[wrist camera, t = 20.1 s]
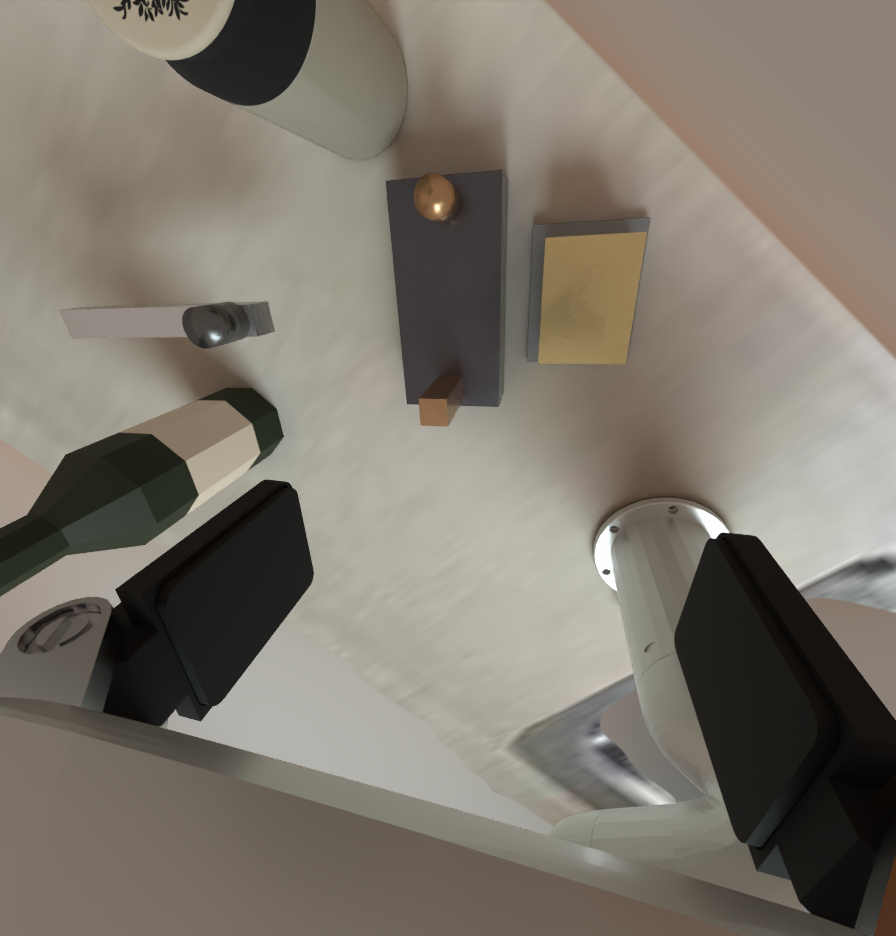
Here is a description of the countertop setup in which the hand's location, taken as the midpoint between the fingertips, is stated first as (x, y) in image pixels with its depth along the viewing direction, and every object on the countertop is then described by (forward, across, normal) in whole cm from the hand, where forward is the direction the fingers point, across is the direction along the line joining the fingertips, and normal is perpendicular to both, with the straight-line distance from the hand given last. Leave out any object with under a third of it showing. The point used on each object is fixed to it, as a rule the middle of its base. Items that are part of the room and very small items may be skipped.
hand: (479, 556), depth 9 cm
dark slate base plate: (+28, +6, -4) cm, 29 cm away
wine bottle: (+29, +30, +9) cm, 43 cm away
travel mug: (+28, +14, -17) cm, 36 cm away
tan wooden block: (+28, -3, -4) cm, 28 cm away
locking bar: (+19, +26, -3) cm, 32 cm away
